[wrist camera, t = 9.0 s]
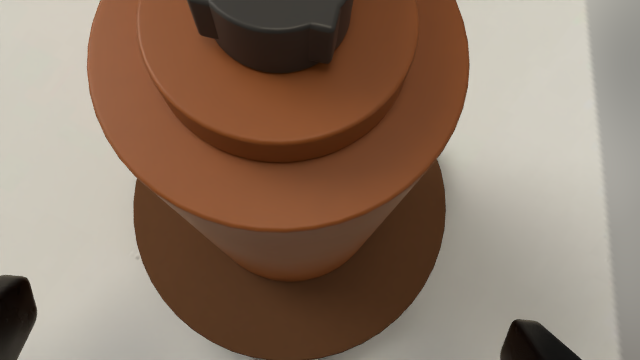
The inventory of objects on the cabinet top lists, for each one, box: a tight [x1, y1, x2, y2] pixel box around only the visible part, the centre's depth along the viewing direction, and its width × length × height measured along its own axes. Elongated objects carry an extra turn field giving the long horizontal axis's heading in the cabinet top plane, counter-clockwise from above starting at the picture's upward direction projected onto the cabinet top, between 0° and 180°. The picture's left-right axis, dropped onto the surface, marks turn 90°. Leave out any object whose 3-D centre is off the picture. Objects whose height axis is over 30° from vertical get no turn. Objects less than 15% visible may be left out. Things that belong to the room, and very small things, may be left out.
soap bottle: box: [87, 0, 469, 282], centre depth 11 cm, size 7×6×11 cm
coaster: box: [134, 159, 446, 360], centre depth 17 cm, size 11×11×1 cm
